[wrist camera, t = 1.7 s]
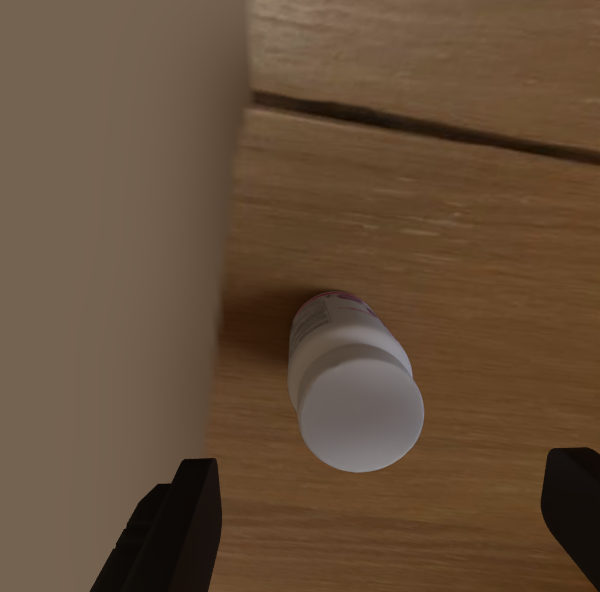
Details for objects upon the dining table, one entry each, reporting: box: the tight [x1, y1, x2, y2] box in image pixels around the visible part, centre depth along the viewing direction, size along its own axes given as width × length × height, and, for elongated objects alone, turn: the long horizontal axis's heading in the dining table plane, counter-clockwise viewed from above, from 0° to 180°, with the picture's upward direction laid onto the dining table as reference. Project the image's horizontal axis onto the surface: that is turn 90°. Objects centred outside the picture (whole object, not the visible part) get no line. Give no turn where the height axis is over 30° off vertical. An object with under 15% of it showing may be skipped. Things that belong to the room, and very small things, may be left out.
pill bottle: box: [288, 291, 424, 472], centre depth 15 cm, size 5×5×8 cm
